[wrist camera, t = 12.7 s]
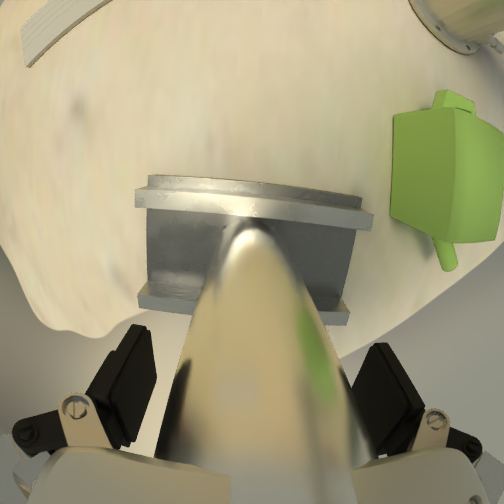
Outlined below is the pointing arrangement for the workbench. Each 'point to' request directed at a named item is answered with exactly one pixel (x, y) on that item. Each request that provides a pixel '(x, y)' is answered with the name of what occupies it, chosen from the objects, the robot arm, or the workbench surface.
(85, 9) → the baseboard
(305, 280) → the floor track
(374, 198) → the workbench surface
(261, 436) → the tan metal cylinder
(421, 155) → the lime handled box
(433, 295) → the workbench surface
